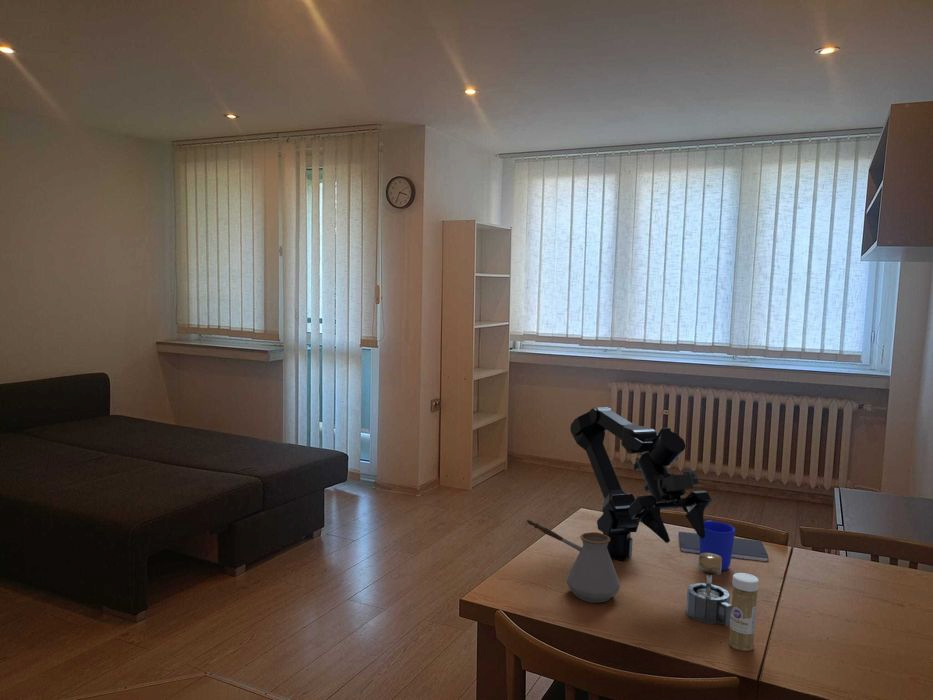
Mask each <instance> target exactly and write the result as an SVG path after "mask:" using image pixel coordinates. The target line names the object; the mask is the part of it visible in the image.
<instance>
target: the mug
mask: <svg viewBox="0 0 933 700" xmlns="http://www.w3.org/2000/svg"><path fill="white" fill-rule="evenodd" d="M704 529H705V538H703V539H701V538H700V553H699V554H701V553H713V554H717V555H719V556H721V557H722V566H721V571H725V570H728V569H729V567H730V566H731V563H732V562H731V560H732V557H731V555H732V549H733V542H734V538H735V535H736V528H735V527H734V526H733V525H730V524H728V523H724V522H721V521H713V520H709V519H708V520H707V519H706V521H704Z"/></svg>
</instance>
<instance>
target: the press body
mask: <svg viewBox="0 0 933 700" xmlns="http://www.w3.org/2000/svg"><path fill="white" fill-rule="evenodd" d="M686 588H687V590H686V605H685V606H686V607H685V611H686V614H687V616H689V617H690V618H691V619H693V620H695V621H697V622H700V623H702V624H703V623H704V624H708V625H710V624H711V625H719V624H722V625H723V626H725V627H727V626H730V617H731V609H732V604H730V599H731V597H730V596H731V595H730V593H729V591H728V590H727V589H725V588H723V587H722V586H719V585H715V584H711V590H714V591H716V592H718V593H719V594H720V597H718V598H711V597H705V596H702V595H699V594H697V590H699V589H706V582H705V583H703V582H697V583H691V584H689V586H687V587H686Z"/></svg>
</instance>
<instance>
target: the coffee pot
mask: <svg viewBox="0 0 933 700" xmlns="http://www.w3.org/2000/svg"><path fill="white" fill-rule="evenodd" d="M528 524H529V525H530V526H533V527H534V529H538V530H539V531H540V532H542V533H543V534H545V535H547V536H550V537H551V538H554V539H555V540H558V541H560V542H563V543H564V544H566V545H568V546H569V547H571V548H572V549H575V550H576V551H578V555H577V557H576V559H575V561H574V563H573V564H572V567H571V568H570V570H569V573H568V575H567V577H566V584H567V587H568V588H569V589H570V591H571V592H572V593H573V594H574V595H575V597H577V598H578V599H580V600H582V601H584V602H590V603H604V602H609V600H610V599H611V598H613V597H614V596H616V595H617V593H619V590H620V588H621V582H620V580H619V577H618V575H617V571H616V567H614V563H613V560H612V558H610V555H609V552H608V549H607V545H608V543H609V542H610V537H609V536H607V535H604V534H603V533H601V532H597V531H594V532H585V533H582V534H580V540H581V541H582V547H581V546H580V545H578V544H577V543H573V542H572V541H569V540H567V539H566V538H564V537H563V536H561V535H559V534H558V533H556V532H554V531H553V530H551V529H549V528H547V527H544V526H542V525H540V523H537V522H536V523H535V522H534V521H532V520H530V519H527V521H526V523H525V525H524V527H523V528H524V529H526V527H527V525H528Z"/></svg>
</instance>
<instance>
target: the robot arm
mask: <svg viewBox="0 0 933 700" xmlns="http://www.w3.org/2000/svg"><path fill="white" fill-rule="evenodd" d="M569 431H570V433H571V435H572V437H573V439H574V441H575V443H576V445H578V446H579V447H580V448H582V449H583V450H584V451H585V452H586V455H587V458H588V460H589V462H590V465H591V468H592V470H593V473H594V474H595V477H596V479H597V482H598V486H599V488H600V490H601V493H602V496H603V498H604V500H603V505H602V509H601V510H602V515H601V516H599V518H597V520H596V525H597V530H598V531H600V533H601V532H602V534H604V535H607V536H609V537H610V542H609V543H608V545H607V549H608V552H609V555H610V558H611V559H614V560H618V561H623V562H625V561H626V560H627V559H629V557H630V556H631V555H632V554H633V537H631V535H632V533H637V531H638V527H639V525H640V523H642V524H644V526H646V527H647V528H648V529H650V530H651V531H652V532H653V533H654V534H655V535H657V536H658V537H659V538H660V539H661V540H662V541H664V543H666V544H668V543H670V542H671V539H670V535H669V533H668V531H667V528H666V526H665V524H664V521H663V519H662V516H661V510H667V509H678V508H681V509H683V511H684V512H685V515H684V516H685V518H686V519H687V520H688V522H689V524H690V525H691V527H692V528H693V530H694V531H695V532H696V534H698V535H699V537H700V538H701V539H703V538H705V529H704V522H705V521H704V520H705V519H704V516H705V515H704V512H705V509H706V508H707V507H708V506H709V504H710V503H711V502H712V501H713V500H712V497H711V495H710V493H709V492H708V491H706V490H695V491H691V492H690V493H689V494H688V495H687V496H685V497H683V498H682V496H684V495H685V494H686V490H690V489H691V490H692V489H695V485H698V484H699V482H700V481H699V477H698V475H697V473H696V472H695V470H687V471H684V472H683V473H682V474H681V473H680V474H675V473H670V471H669V469H668V466H671V465H672V464H673V463H674V462H675V461H676V460H677V459H678V458H679V456H680V455H681V454H682V453H683V452H684V451H685V449H686V443H685V440H684V438H682V437H681V436H680V435H679V434H678V433H676V432H674V431H672V430H671V428H670V427H664V428H663V427H662V428H661V429H660V430H659V431H658V432H657V431H656V430H655V429H654V428H651V427H648V426H645V425H644V426H643V425H637V424H634V423H632V422H631V421H629V420H627V419H626V418H624V417H622V416H621V415H619V414H618V413H616V412H615V411H613V410H612V408H611V407H607V406H601V407H600V406H596V407H593V408H591V409H590V410H589V411H588V412H585V413H583V414H581V415H580V416H578V417H575V418H574V420H573V421H572V422H571V424H570V430H569ZM606 431H608V432H609V433H610V434H612V435H614V436H615V437H617V438H619V440H620V444H621V446H622V447H623V448H624V450H626V452H627V453H629V454H631V455H632V454H634V455H636V454H641V455H640V457H636V458H635V462H634V464H633V470H640V472H641V474H642V477H643V479H644V481H645V484H646V485H645V486H644V490H645V492H650V495H641V496H640V495H639V496H637V497H636V498H635V495H634V494H633V493H626V492H624V491H623V487H622V486H621V484H620V483H621V482H620V480H619V479H618V476H617V474H616V472H615V469H614V466H613V464H612V462H611V459H610V457H609V454H608V452H607V449H606V447H605V445H604V442H605V437H606Z"/></svg>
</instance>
